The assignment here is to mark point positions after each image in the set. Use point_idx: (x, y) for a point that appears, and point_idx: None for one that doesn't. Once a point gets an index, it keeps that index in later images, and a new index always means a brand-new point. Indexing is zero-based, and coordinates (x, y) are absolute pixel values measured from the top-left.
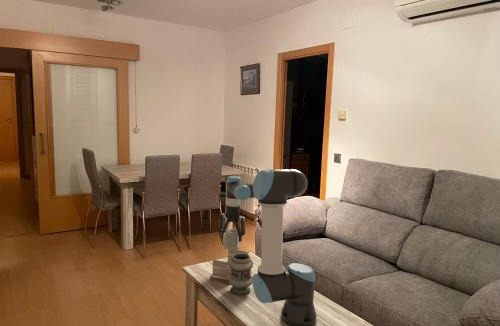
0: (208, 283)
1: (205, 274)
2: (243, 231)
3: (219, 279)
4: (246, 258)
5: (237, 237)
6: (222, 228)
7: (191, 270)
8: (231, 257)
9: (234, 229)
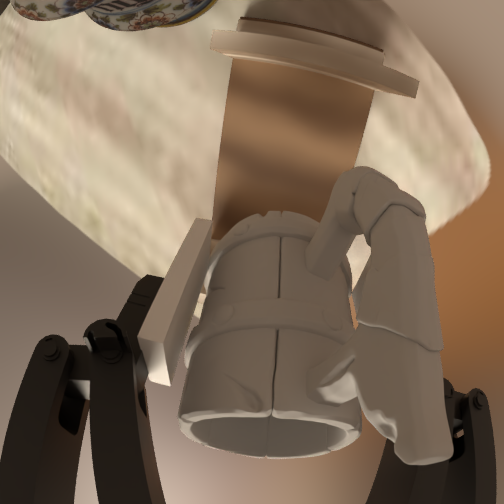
0: (370, 10)
1: (414, 110)
2: (17, 397)
3: (319, 30)
4: (45, 6)
5: (164, 323)
6: None
7: (475, 150)
8: None
9: (272, 457)
